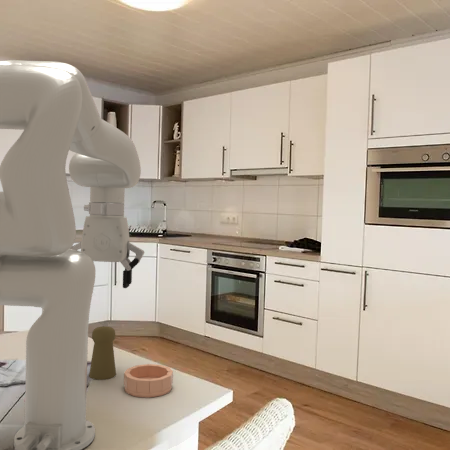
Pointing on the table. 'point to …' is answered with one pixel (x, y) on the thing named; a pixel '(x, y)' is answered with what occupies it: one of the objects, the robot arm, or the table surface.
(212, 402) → the table surface
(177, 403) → the table surface
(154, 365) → the copper faceted bowl
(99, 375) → the cork
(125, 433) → the table surface
